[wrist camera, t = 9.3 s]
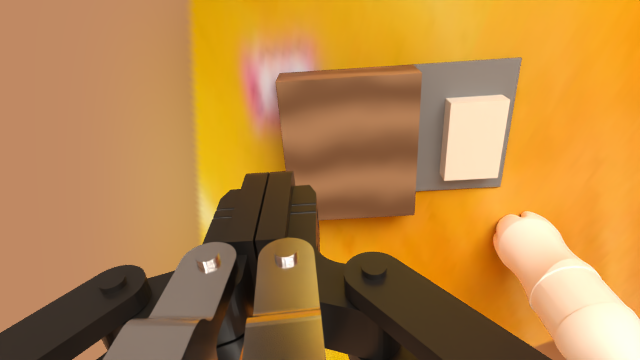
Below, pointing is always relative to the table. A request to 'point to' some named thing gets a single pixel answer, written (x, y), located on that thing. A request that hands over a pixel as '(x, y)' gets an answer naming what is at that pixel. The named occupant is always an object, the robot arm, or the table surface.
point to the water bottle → (566, 292)
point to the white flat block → (473, 137)
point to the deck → (353, 138)
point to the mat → (434, 91)
